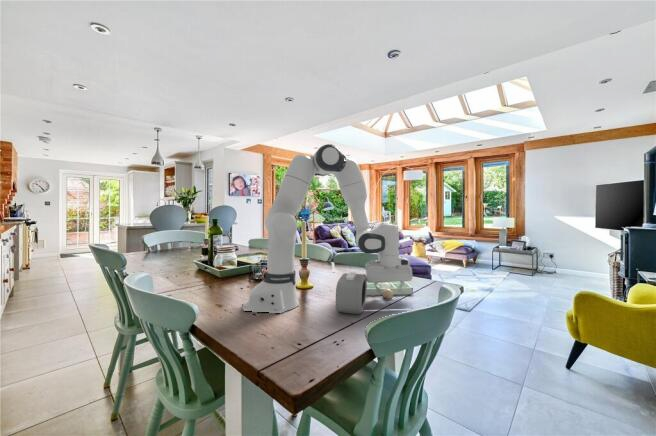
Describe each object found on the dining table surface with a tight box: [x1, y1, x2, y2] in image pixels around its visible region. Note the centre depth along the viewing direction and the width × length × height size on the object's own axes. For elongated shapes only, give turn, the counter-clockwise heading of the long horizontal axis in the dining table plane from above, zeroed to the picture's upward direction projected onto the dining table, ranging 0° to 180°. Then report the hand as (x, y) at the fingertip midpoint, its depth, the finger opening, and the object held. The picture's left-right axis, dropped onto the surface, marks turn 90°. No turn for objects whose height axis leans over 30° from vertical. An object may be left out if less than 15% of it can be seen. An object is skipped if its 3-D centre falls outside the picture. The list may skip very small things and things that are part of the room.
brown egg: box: [382, 289, 394, 300], centre depth 121 cm, size 4×4×4 cm
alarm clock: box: [335, 272, 367, 315], centre depth 111 cm, size 21×10×13 cm, turn 166°
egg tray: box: [366, 281, 414, 296], centre depth 132 cm, size 23×16×4 cm
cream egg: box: [381, 282, 391, 288], centre depth 128 cm, size 4×4×4 cm
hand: (388, 291), depth 121 cm, fingers open, 8 cm apart
